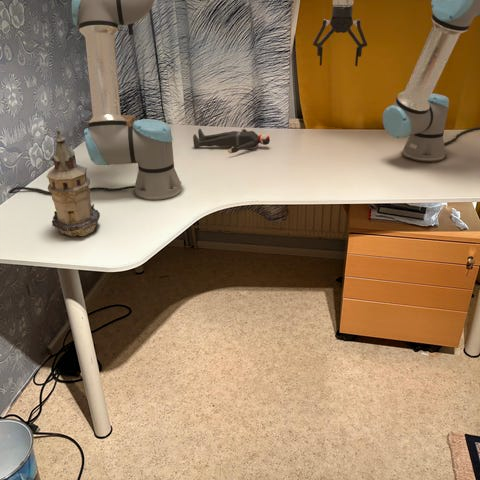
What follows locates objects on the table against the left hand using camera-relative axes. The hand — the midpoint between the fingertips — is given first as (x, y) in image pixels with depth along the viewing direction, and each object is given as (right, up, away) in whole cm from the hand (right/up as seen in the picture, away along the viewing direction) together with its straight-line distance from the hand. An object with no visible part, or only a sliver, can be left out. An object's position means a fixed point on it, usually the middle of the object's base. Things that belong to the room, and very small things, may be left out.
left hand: (114, 34), depth 210 cm
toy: (+46, -43, +5) cm, 63 cm away
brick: (+1, -35, +20) cm, 41 cm away
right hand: (+87, -13, -3) cm, 88 cm away
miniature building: (+2, -78, -55) cm, 95 cm away
